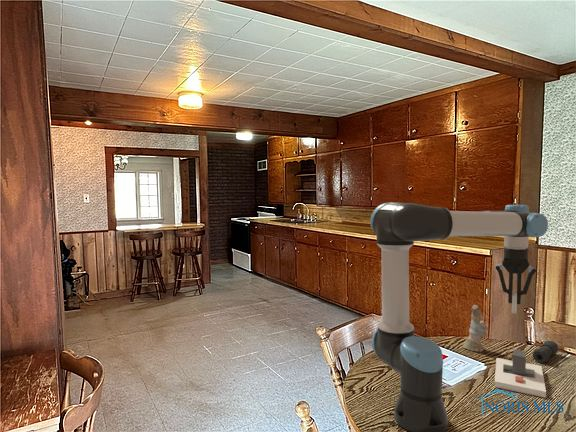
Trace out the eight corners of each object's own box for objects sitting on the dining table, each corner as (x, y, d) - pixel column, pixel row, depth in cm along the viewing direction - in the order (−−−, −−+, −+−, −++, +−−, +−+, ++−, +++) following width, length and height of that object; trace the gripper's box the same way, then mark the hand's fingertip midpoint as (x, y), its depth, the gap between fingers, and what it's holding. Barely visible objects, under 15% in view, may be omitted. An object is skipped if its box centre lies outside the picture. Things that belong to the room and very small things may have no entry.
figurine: (472, 353, 163) (473, 306, 162) (459, 346, 171) (460, 301, 170) (490, 351, 165) (491, 305, 163) (477, 344, 173) (478, 299, 172)
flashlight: (546, 365, 151) (547, 352, 151) (531, 361, 156) (531, 348, 155) (558, 354, 161) (559, 342, 161) (543, 350, 166) (544, 338, 165)
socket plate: (545, 397, 128) (546, 389, 127) (494, 386, 135) (494, 379, 135) (541, 371, 147) (541, 363, 146) (496, 362, 154) (496, 355, 154)
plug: (525, 380, 139) (525, 357, 138) (512, 377, 141) (512, 355, 140) (524, 372, 145) (525, 349, 145) (512, 369, 147) (513, 347, 147)
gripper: (536, 247, 139) (534, 312, 140) (495, 245, 146) (494, 307, 147) (538, 250, 133) (535, 318, 134) (495, 247, 139) (493, 312, 140)
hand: (514, 312), depth 140 cm, fingers closed
